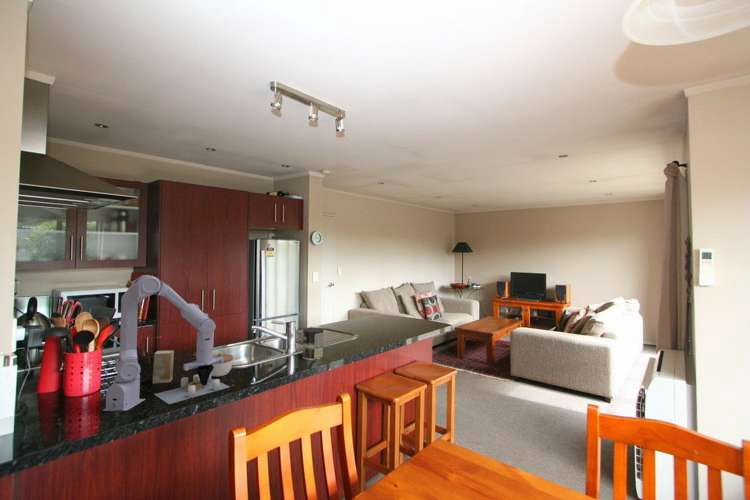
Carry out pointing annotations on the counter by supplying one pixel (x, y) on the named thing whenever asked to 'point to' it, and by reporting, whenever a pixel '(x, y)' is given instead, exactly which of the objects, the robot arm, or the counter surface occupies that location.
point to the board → (184, 393)
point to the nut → (197, 386)
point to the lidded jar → (222, 365)
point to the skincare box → (163, 366)
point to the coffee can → (312, 343)
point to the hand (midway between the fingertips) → (203, 385)
